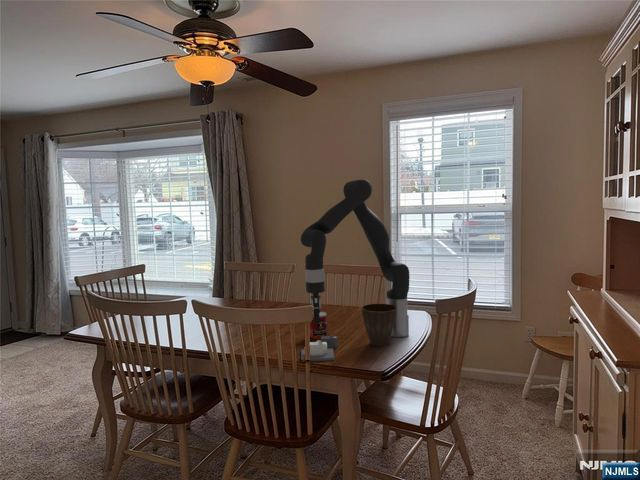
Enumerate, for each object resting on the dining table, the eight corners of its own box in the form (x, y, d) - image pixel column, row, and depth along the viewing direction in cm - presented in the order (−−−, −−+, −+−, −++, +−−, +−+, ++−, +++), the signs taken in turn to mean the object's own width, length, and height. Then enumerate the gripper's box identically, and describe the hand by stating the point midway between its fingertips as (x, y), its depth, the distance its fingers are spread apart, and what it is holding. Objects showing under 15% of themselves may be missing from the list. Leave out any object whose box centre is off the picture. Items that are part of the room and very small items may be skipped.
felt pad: (333, 350, 187) (332, 348, 187) (334, 360, 176) (334, 357, 176) (301, 351, 186) (301, 349, 186) (301, 361, 175) (301, 358, 175)
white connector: (327, 351, 183) (326, 341, 182) (327, 354, 179) (327, 344, 179) (305, 352, 183) (304, 342, 182) (304, 355, 179) (304, 345, 179)
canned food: (313, 340, 201) (312, 316, 200) (308, 335, 208) (308, 312, 207) (329, 338, 203) (328, 315, 202) (324, 333, 210) (323, 310, 209)
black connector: (337, 345, 193) (337, 335, 193) (338, 348, 190) (337, 338, 189) (316, 346, 193) (316, 336, 193) (316, 348, 190) (316, 339, 189)
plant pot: (374, 336, 204) (373, 301, 203) (403, 342, 195) (403, 306, 193) (355, 345, 193) (354, 308, 191) (385, 351, 183) (385, 313, 182)
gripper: (325, 282, 171) (326, 324, 173) (323, 276, 185) (325, 314, 187) (305, 283, 171) (307, 325, 172) (305, 277, 185) (307, 315, 187)
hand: (316, 319), depth 180 cm, fingers open, 8 cm apart
